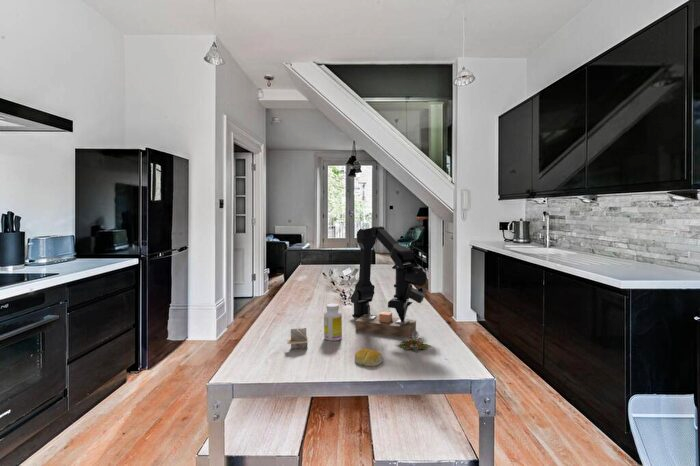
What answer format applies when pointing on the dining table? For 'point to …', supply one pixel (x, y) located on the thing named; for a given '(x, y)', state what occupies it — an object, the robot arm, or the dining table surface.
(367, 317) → the grey cube
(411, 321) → the console
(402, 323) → the grey block
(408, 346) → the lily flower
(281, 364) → the dining table surface
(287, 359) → the dining table surface
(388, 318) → the orange cube
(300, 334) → the architectural model
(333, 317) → the supplement bottle
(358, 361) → the bread roll
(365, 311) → the robot arm
